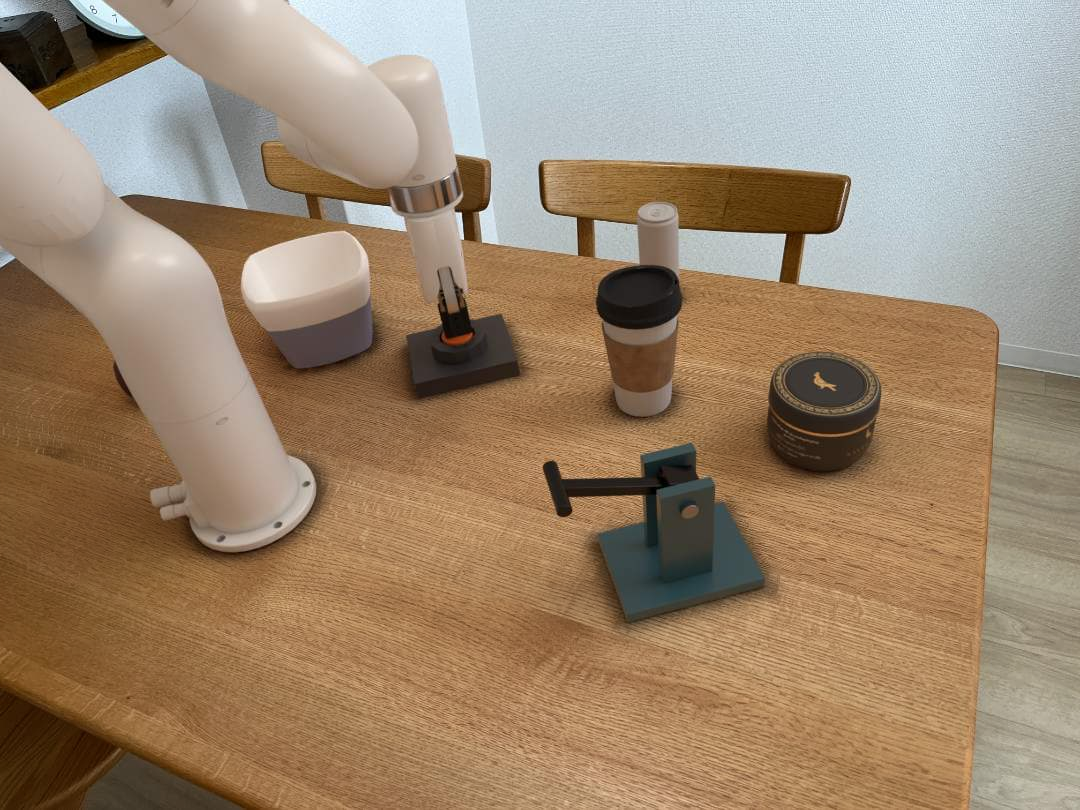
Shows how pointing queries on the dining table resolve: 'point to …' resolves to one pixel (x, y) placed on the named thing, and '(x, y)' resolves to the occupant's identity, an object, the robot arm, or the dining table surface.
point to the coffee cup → (640, 335)
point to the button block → (461, 357)
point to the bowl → (312, 297)
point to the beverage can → (658, 235)
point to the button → (456, 339)
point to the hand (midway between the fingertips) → (458, 332)
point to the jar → (822, 410)
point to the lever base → (678, 546)
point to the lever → (611, 484)
